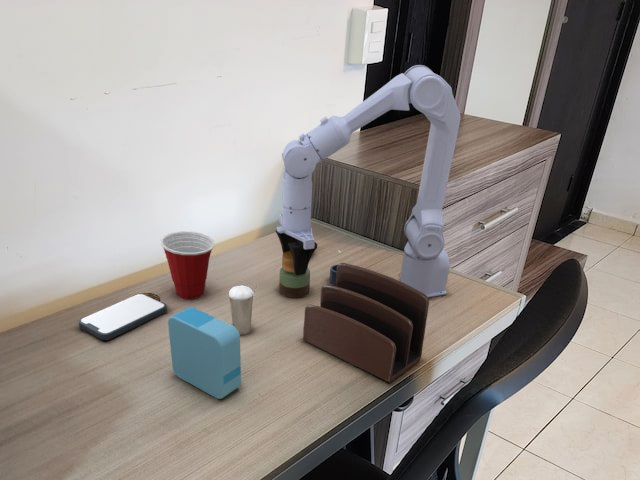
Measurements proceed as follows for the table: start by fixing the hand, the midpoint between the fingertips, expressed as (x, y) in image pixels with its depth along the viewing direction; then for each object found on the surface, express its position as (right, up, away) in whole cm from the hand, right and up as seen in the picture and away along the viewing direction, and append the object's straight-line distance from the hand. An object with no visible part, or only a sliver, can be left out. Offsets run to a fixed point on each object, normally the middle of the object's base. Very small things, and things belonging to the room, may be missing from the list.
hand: (294, 267), depth 129 cm
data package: (-16, -23, -24) cm, 37 cm away
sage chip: (0, -3, +2) cm, 3 cm away
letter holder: (+12, -18, -16) cm, 26 cm away
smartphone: (-34, -11, -8) cm, 36 cm away
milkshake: (-10, -14, -10) cm, 20 cm away
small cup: (+10, -2, +7) cm, 12 cm away
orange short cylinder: (0, 0, 0) cm, 0 cm away
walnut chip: (0, -5, +3) cm, 6 cm away
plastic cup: (-22, -5, +2) cm, 23 cm away
